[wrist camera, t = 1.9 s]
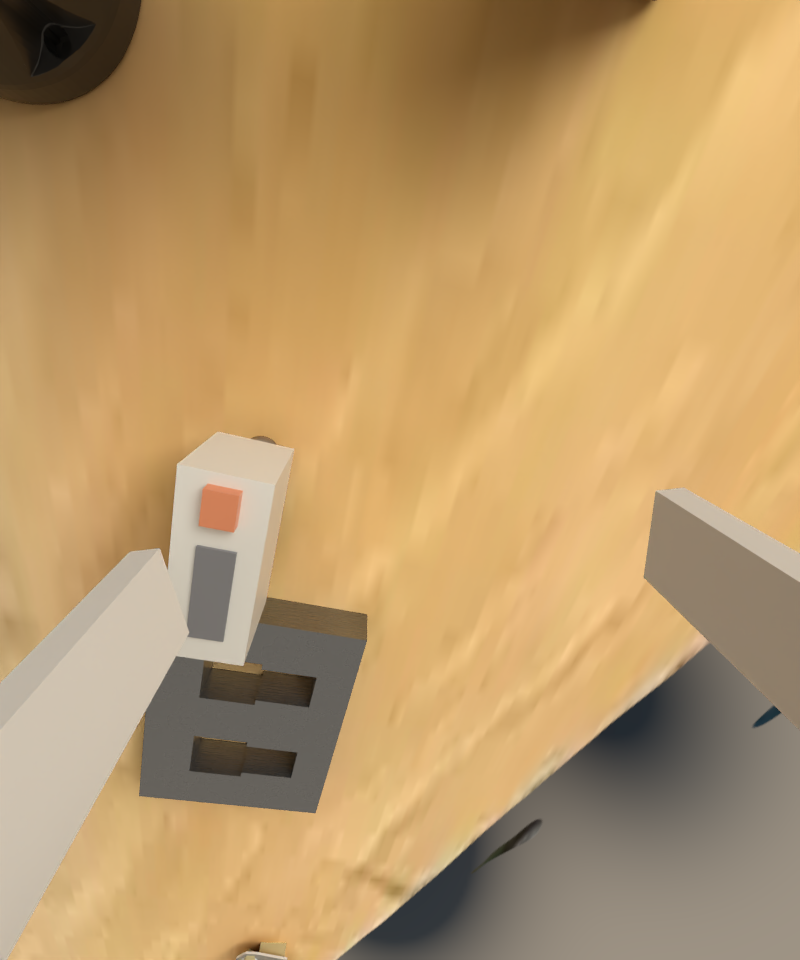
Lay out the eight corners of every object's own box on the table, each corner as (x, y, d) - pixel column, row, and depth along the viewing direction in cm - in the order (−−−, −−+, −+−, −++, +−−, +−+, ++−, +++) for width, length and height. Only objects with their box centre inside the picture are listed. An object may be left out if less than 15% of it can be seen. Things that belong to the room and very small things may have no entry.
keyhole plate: (155, 762, 47) (139, 795, 44) (171, 581, 39) (153, 605, 36) (319, 780, 50) (315, 813, 46) (367, 614, 42) (366, 640, 38)
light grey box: (210, 570, 38) (155, 662, 28) (230, 421, 34) (171, 468, 24) (273, 581, 39) (240, 674, 29) (300, 437, 34) (272, 490, 24)
